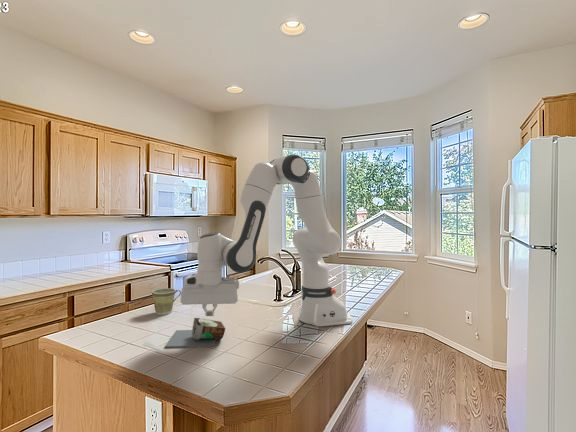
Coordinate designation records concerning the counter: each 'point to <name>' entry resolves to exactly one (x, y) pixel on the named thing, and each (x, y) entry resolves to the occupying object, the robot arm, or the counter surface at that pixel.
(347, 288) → the counter surface
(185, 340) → the mat
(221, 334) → the food container
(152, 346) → the butter knife
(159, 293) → the ceramic cup
